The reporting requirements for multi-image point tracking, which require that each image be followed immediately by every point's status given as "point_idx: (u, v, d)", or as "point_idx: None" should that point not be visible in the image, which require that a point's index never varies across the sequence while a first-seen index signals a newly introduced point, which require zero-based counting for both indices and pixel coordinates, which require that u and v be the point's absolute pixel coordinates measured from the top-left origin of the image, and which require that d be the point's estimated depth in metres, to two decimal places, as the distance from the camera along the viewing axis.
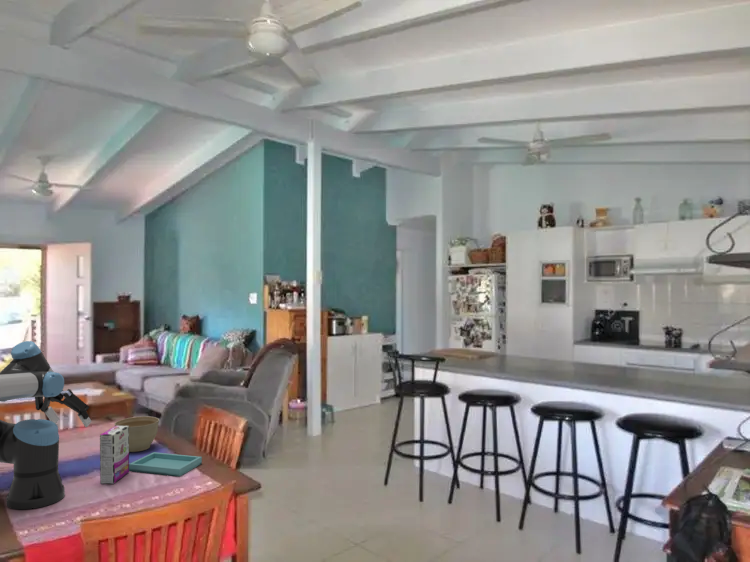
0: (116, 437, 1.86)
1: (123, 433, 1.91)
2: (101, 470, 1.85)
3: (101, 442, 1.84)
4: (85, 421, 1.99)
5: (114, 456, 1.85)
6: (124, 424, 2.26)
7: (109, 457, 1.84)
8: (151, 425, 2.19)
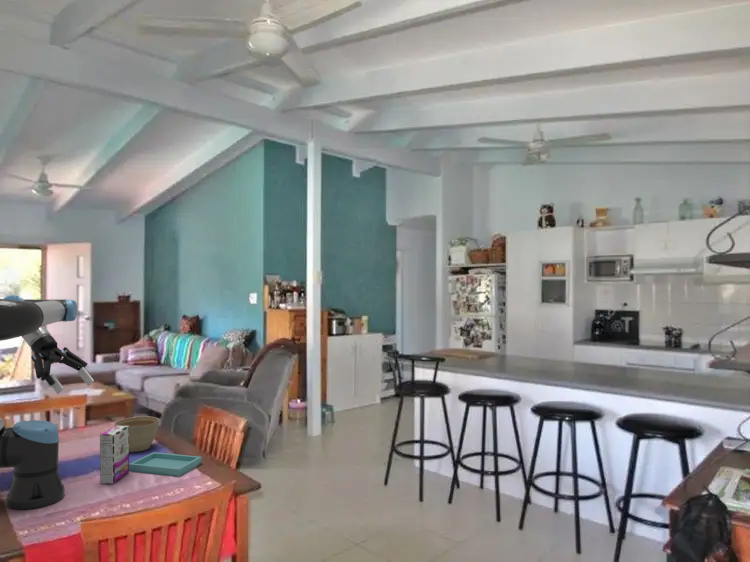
0: (116, 437, 1.86)
1: (123, 433, 1.91)
2: (101, 470, 1.85)
3: (102, 442, 1.84)
4: None
5: (114, 456, 1.85)
6: (124, 424, 2.26)
7: (109, 457, 1.84)
8: (151, 425, 2.19)
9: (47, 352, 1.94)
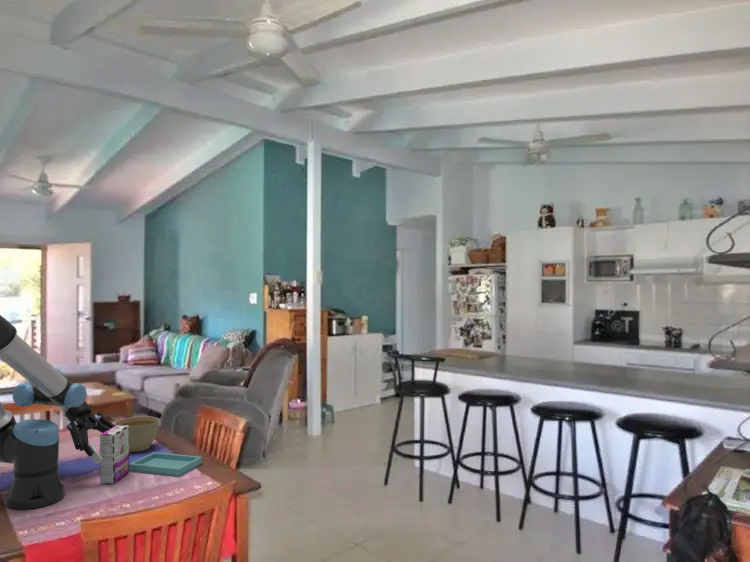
0: (116, 437, 1.86)
1: (123, 433, 1.91)
2: (101, 470, 1.85)
3: (102, 442, 1.84)
4: None
5: (114, 456, 1.85)
6: (124, 424, 2.26)
7: (109, 457, 1.84)
8: (151, 425, 2.19)
9: (81, 419, 1.91)
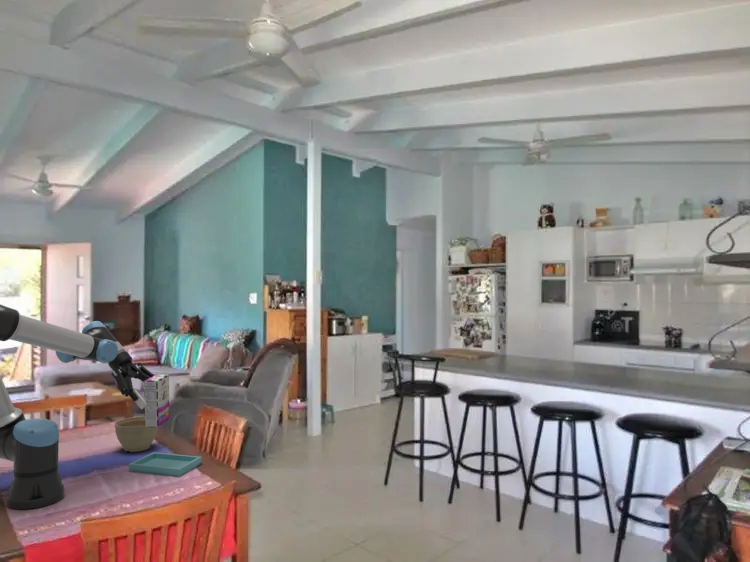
0: (159, 383, 1.96)
1: (164, 381, 2.01)
2: (145, 415, 1.95)
3: (146, 387, 1.94)
4: None
5: (158, 401, 1.95)
6: (124, 424, 2.26)
7: (153, 402, 1.95)
8: None
9: (124, 367, 2.00)
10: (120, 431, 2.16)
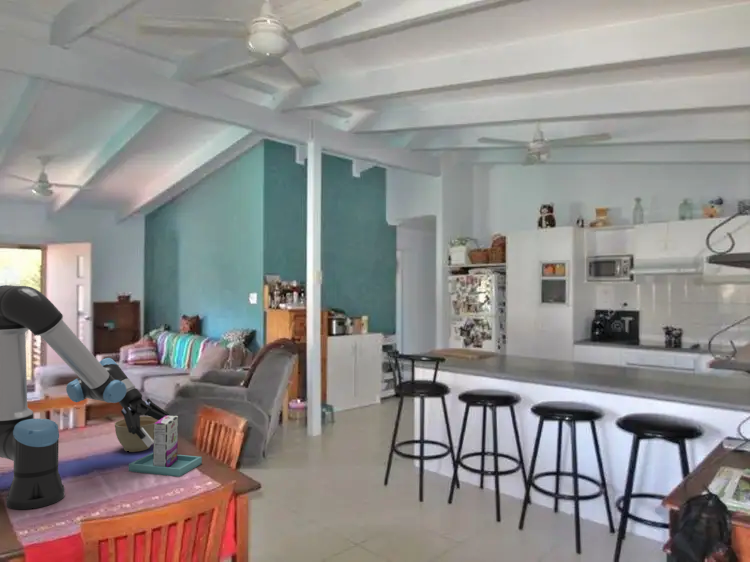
0: (168, 426, 1.97)
1: (174, 423, 2.02)
2: (154, 457, 1.95)
3: (155, 430, 1.95)
4: None
5: (167, 444, 1.96)
6: (124, 424, 2.26)
7: (162, 445, 1.95)
8: (151, 425, 2.19)
9: (134, 405, 2.02)
10: (120, 431, 2.15)
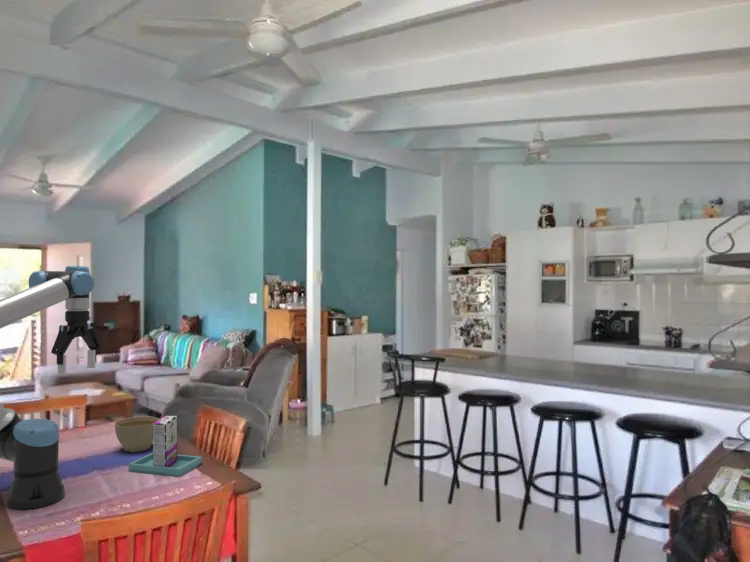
0: (167, 426, 1.97)
1: (173, 423, 2.02)
2: (153, 458, 1.95)
3: (154, 430, 1.95)
4: None
5: (166, 444, 1.96)
6: (124, 424, 2.26)
7: (161, 445, 1.95)
8: (151, 425, 2.19)
9: (75, 327, 1.95)
10: (120, 431, 2.15)
